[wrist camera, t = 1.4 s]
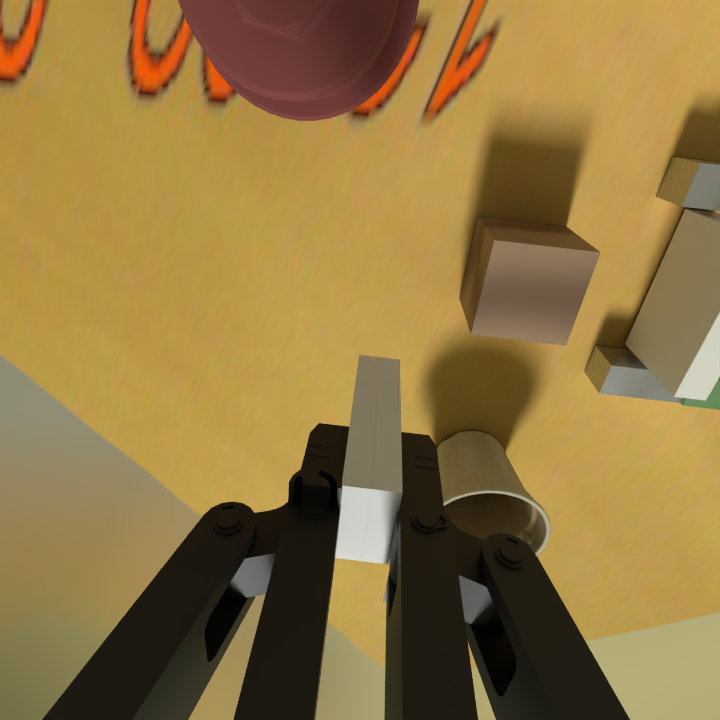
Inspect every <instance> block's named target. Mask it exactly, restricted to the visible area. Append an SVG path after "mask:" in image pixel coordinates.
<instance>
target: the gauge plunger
mask: <svg viewBox="0 0 720 720" xmlns="http://www.w3.org/2000/svg"><path fill="white" fill-rule="evenodd" d="M625 345H626V346H627V347H628V348H629V349H630V350H631V351H632V352H633V353H634V354H635V355H636V357H637V358H638V359H639V360H640V361H641V362H642V363H643V364H644V365H645V366H646V367H647V368H648V369H649V371H650V372H651V373H652V374H653V375H654V376H655V377H656V378H657V379H658V380H659V381H660V382H661V383H662V385H663V386H664V387H665V388H666V389H667V390H668V391H669V392H670V393H671V394H672V395H673V396H674V397H680V398H689V399H697V400H706V399H707V398H708V396H709V394H710V392H711V391H712V389H713V387H714V386H715V384H716V382H717V381H718V379H719V377H720V214H719V213H716V212H707V211H698V210H690V209H685V211H684V213H683V215H682V217H681V220H680V222H679V224H678V226H677V229H676V231H675V233H674V235H673V238H672V240H671V242H670V244H669V247H668V249H667V251H666V253H665V256H664V258H663V260H662V262H661V265H660V267H659V269H658V271H657V274H656V276H655V278H654V280H653V283H652V285H651V287H650V289H649V291H648V294H647V296H646V298H645V300H644V303H643V305H642V307H641V309H640V312H639V314H638V316H637V318H636V321H635V323H634V325H633V327H632V330H631V332H630V334H629V336H628V339H627V341H626V343H625Z"/></svg>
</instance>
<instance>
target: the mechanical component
mask: <svg viewBox="0 0 720 720" xmlns="http://www.w3.org/2000/svg"><path fill="white" fill-rule="evenodd" d="M178 1H179V4H180V6H181V9H182V12H183V15H184V17H185V19H186V21H187V23H188V25H189V27H190V29H191V31H192V33H193V35H194V36H195V38H196V39H197V41H198V42H199V44H200V46H201V47H202V49H203V50H204V52H205V53H206V55H207V56H208V58H209V59H210V61H211V62H212V64H213V65H214V67H215V68H216V70H217V71H218V72H219V74H220V75H221V76H222V77H223V78H224V80H225V81H226V82H227V83H228V84H229V85H230V86H231V87H232V88H233V89H234V90H235V91H236V92H237V93H239V94H240V95H241V96H242V97H243V98H245V99H246V100H248V101H249V102H250V103H252V104H253V105H255V106H257V107H259V108H261V109H262V110H264V111H266V112H268V113H271V114H274V115H277V116H280V117H283V118H287V119H293V120H299V121H315V120H322V119H328V118H332V117H335V116H338V115H341V114H344V113H346V112H348V111H351V110H353V109H354V108H356V107H358V106H359V105H361V104H363V103H364V102H366V101H367V100H368V99H369V98H370V97H372V96H373V95H374V94H375V93H376V92H377V91H378V90H379V89H380V88H381V87H382V86H383V85H384V84H385V83H386V81H387V80H388V79H389V77H390V76H391V75H392V73H393V72H394V70H395V69H396V67H397V66H398V64H399V62H400V60H401V58H402V56H403V54H404V52H405V50H406V48H407V45H408V42H409V40H410V37H411V34H412V31H413V28H414V24H415V20H416V16H417V10H418V5H419V0H178Z"/></svg>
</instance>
